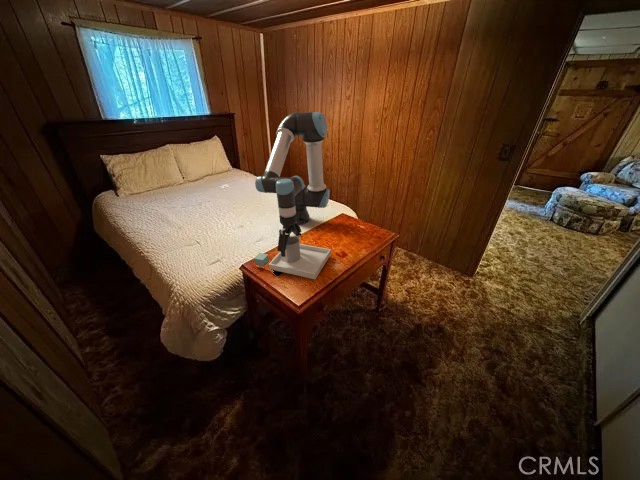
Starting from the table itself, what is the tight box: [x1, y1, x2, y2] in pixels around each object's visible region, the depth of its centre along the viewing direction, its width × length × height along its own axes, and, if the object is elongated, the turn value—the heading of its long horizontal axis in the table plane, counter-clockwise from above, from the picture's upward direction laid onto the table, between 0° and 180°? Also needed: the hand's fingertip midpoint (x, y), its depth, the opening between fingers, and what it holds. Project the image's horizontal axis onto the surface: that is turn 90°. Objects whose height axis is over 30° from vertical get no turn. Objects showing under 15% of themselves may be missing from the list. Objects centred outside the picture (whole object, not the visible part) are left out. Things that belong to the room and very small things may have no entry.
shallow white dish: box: [268, 243, 332, 280], centre depth 124 cm, size 22×24×4 cm
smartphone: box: [273, 270, 285, 277], centre depth 123 cm, size 7×1×15 cm
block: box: [253, 252, 270, 267], centre depth 124 cm, size 5×5×5 cm
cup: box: [286, 235, 300, 263], centre depth 123 cm, size 8×8×10 cm
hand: (291, 253), depth 125 cm, fingers open, 13 cm apart
